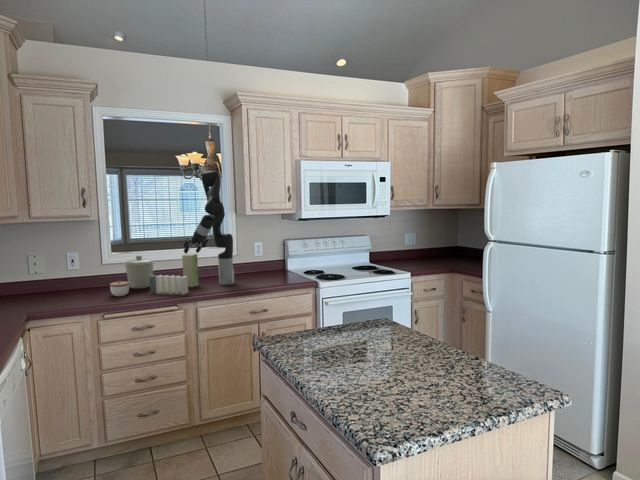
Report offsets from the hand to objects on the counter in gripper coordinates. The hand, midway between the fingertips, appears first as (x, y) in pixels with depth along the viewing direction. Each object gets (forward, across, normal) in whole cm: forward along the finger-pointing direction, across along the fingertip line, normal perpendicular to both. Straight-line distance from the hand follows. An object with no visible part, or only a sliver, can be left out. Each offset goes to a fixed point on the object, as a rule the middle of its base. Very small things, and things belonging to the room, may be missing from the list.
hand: (191, 252), depth 267 cm
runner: (+29, +5, +5) cm, 29 cm away
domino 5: (+24, +3, +9) cm, 26 cm away
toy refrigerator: (+30, -15, +1) cm, 34 cm away
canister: (+48, +4, -20) cm, 52 cm away
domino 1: (+34, +9, -3) cm, 36 cm away
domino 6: (+22, +1, +12) cm, 25 cm away
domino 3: (+29, +6, +3) cm, 30 cm away
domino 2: (+32, +7, 0) cm, 33 cm away
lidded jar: (+42, +24, -10) cm, 50 cm away
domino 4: (+27, +4, +6) cm, 28 cm away
